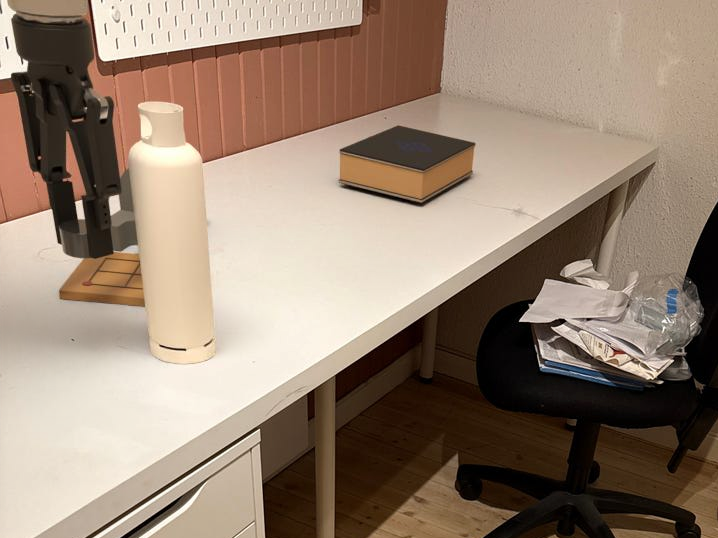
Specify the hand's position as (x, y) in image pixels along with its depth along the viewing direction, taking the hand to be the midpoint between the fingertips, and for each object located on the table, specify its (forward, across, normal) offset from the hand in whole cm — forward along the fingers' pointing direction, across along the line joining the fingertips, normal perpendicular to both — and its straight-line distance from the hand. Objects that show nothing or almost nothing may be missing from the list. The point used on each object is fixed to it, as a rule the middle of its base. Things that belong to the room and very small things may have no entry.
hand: (85, 248), depth 112 cm
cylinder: (0, 0, 0) cm, 0 cm away
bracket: (+13, +27, -33) cm, 44 cm away
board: (+13, +14, -18) cm, 26 cm away
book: (+13, +20, -91) cm, 94 cm away
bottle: (+13, -7, -7) cm, 16 cm away
